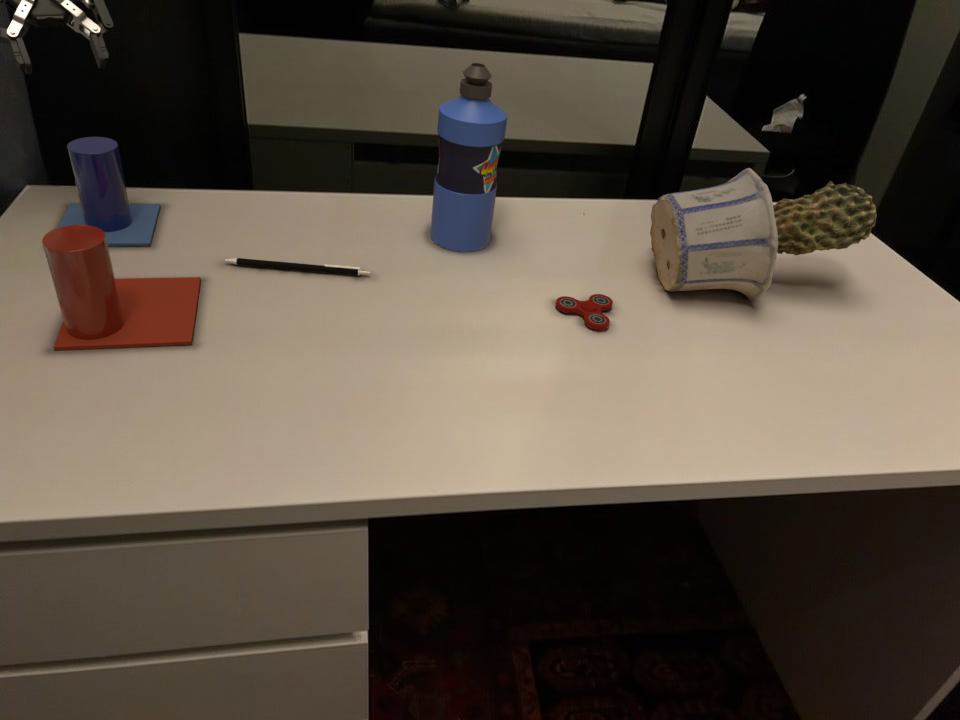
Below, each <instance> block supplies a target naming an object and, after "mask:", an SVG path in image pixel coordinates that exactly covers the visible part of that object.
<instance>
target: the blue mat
mask: <svg viewBox="0 0 960 720" xmlns="http://www.w3.org/2000/svg"><path fill="white" fill-rule="evenodd" d="M129 207H130V212H131V217H132V223H131V224H130V225H129V226H128V227H126V228H124V229H122V230H118V231H113V232H104V233H105V235H106V240H107V244H108V248H109V247H111V248H112V247H115V248H116V247H118V248H119V247H151V245H152V242H153V237H154V233H155V230H156V226H157V222H158V219H159V215H160V214H159V213H160V210H161V203H129ZM69 225H85V222H84V218H83V213H82V209H81V205H80V202H75V203H74V202H70V203H69V204H68V207H67V209H66V211H65V213H64V215H63V217H62V219H61V221H60V223H59V225H58V227H57V228H60V227H63V226H69Z"/></svg>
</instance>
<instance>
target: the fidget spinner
mask: <svg viewBox="0 0 960 720" xmlns="http://www.w3.org/2000/svg"><path fill="white" fill-rule="evenodd" d="M613 304H614V301H613V299H612V298H611V297H610V296H607V295H605V294H601V293H595V294H591V295H590V296H589V298H588V299H587V300H579V299H577V298H574V297H572V296H567V295H563V296H559V297H557V299H556V300H555V307H556V309H557V310H558V311H560V312H563V313H566V314H577V315H581V316H582V317H583V319H584V321H583V322H584V324H585V325H586V326H587V327H588V328H590V329H593V330H596V331H597V330H598V331H603V330H606V329H608V328H609V326H610V322H611V320H610V318H609V317H608V315H606V314H604V313H603V312H604V311H605V312H606V311H609V310H611V309H612V307H613Z"/></svg>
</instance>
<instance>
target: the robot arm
mask: <svg viewBox="0 0 960 720" xmlns="http://www.w3.org/2000/svg"><path fill="white" fill-rule="evenodd" d="M79 2H81V3H83V4H84V5H85V7H86V8H87V9H88V10H92V13H93V15H94V18H95V20H96V22H94V21H93V20H92V19H90V17H88V16H87V14H86V13H85V12H84V11H83V9H81V8H79V7H78V4H79ZM2 4H5V6H6V7H7V8H9V9H10V10H11V11H13V13H14V14H13V16H12V20H11V21H10V24H9V25H8V27H7V28H5V27H1V26H0V43H2V44H5V45H7V46H8V47H9V48H10V50H11V53H12V56H13V59H14V61H15V64H16V67H17V68H18V69H19V70H20V71H24V73H25V75H32V74H33V65H32V61H31V59H30V56H29V53H28V50H27V48H26V45H25V42H24V39H23V38H24V36H26V35H27V33H28V31H29V29H30V27H31V26H34V27H36V29H45V28H49V27H54V28H64V27H65V25H66V26H67V27H69V28H71V30H73V31H74V32H76V33H77V34H81V35H82V36H84V38H86V39H87V40H88V41H89V45H90V48H91V50H92V54H93V56H94V59H95V63H96V65H97V67H98V69H99V70H101V69H106V65H107V64H109V55H110V54H109V52H108V49H107V46H106V42H105V40H104V39H105V38H107V39H109V38H112V37H113V32H114V22H113V19H112V16H111V14H110V11H109V9H108V8H107V5H106V3H105V0H0V6H1V5H2Z"/></svg>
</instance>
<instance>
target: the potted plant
mask: <svg viewBox="0 0 960 720" xmlns="http://www.w3.org/2000/svg"><path fill="white" fill-rule="evenodd" d="M877 216H878V215H877V208H876V204H875V203H874V202H873V195H870V194H868V193H866V191H865V189H864V188H862V187H859V186H856V185H853V184H849V183H847V182H843V183H838V184H835V183H834V181H831V180H829V181H828V183H826V184H825V186H824V187H821V188H819V189H816V190H815V191H814V192H813V193H812V194H804V195H803V196H801V197H799V198H794V199H791V198H790V199H789V198H784V197H783V198H782V199H780V200H778V202H776V203H775V204H774V203H773V198H772V194H771V192H770V189H769V187H768V184H766V183H765V182H764V181H763V179H762V178H761V177H760V176H759V175H758V173H756V172H755V171H754V170H753V169H752V168H750V167H747V168H745V169H743V170H742V171H740V172H738V174H737V175H735V176H734V177H732V178H731V179H730V180H728V181H727V182H724V183H721V184H718V185H714V186H709V187H704V188H697V189H693V190H686V191H679V192H678V191H675V192H671V193H666V194H663V195H661V196H659V197H658V198H657V201H656V202H655V203H654V204H653V205H652V206H651V213H650V219H651V220H650V221H651V224H650V225H651V226H650V232H649V234H650V244H651V252H652V254H653V259H654V262H655V266H656V270H657V271H656V272H657V278H658V279H657V280H658V281H659V282H660V283H661V285H662V287H663V289H664V290H665V291H667V292H675V293H676V292H689V291H690V292H692V291H701V290H703V291H704V290H730V291H731V290H732V291H734V292H735V291H736V292H738V293H740V294H742V295H744V296H745V297H746V298H747V299H748V300H754V299H757V298H759V297H761V296H762V295H763V294H765V293H766V292H767V291H768V290H769V289H770V287H771V285H772V283H773V275H774V272H775V266H776V260H777V255H778V254H779V255H782V254H783V253H785V254H786V255H794V256H796V257H797V256H801V255H807V254H813V253H814V252H815V251H830V250H843V249H848V248H849V247H851V246H852V245H856V244H860V242H861V241H865V240H866V239H868V238H869V237H870V236H871V235H870V234H871V233H872V229H873V228H874V227H875V226H876V221H877Z"/></svg>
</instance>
